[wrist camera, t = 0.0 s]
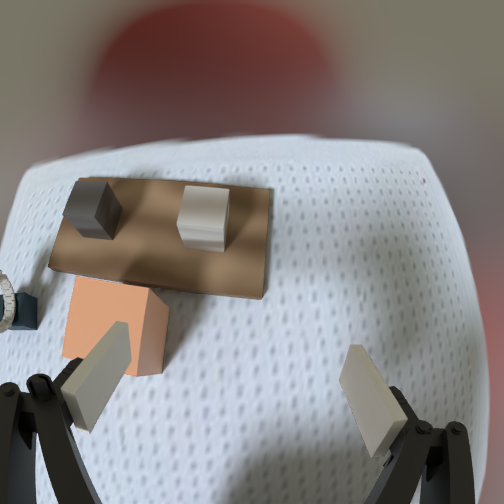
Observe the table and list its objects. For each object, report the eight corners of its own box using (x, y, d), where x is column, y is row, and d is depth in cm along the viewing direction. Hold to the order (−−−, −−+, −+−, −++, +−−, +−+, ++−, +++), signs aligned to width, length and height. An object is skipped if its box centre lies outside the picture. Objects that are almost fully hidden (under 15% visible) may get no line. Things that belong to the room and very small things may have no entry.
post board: (260, 299, 32) (269, 281, 25) (53, 270, 31) (22, 249, 24) (268, 196, 38) (276, 160, 31) (83, 183, 37) (63, 152, 30)
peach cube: (161, 373, 28) (136, 376, 20) (101, 360, 28) (61, 355, 20) (170, 308, 31) (149, 287, 23) (111, 298, 31) (76, 275, 22)
